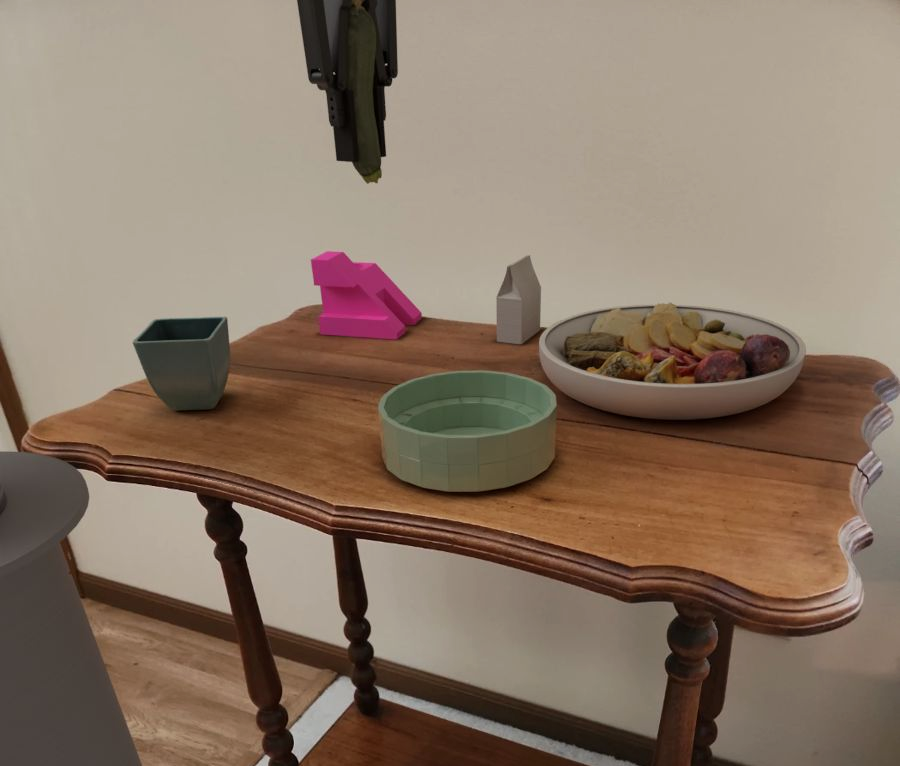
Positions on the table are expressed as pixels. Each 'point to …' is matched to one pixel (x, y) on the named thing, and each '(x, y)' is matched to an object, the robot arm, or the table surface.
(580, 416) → the table surface
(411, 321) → the bracket
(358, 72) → the vegetable
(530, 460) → the mixing bowl
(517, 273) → the milk carton
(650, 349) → the bowl
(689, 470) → the table surface
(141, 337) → the flower pot
